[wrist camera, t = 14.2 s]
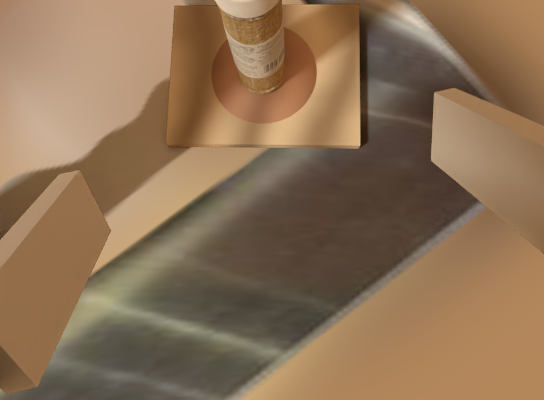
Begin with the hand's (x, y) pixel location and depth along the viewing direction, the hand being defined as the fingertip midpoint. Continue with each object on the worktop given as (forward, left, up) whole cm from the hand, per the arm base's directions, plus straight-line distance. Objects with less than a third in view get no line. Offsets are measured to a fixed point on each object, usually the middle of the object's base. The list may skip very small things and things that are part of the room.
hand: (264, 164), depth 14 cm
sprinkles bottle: (-2, +13, -19) cm, 24 cm away
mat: (-2, +13, -20) cm, 24 cm away
